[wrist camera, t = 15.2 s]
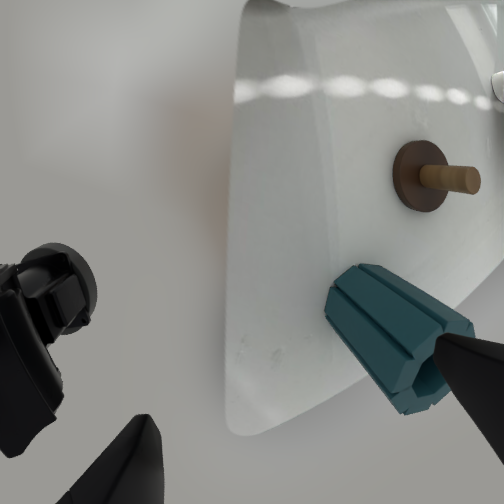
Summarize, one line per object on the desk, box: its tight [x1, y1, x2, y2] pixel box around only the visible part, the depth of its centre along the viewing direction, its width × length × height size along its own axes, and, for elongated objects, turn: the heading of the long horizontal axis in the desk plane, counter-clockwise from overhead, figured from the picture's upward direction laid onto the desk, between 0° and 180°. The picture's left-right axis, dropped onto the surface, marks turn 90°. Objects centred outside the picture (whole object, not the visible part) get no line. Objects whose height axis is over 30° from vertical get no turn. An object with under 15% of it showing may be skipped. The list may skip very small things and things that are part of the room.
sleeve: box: [324, 263, 475, 415], centre depth 17 cm, size 6×6×10 cm
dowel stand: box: [393, 140, 481, 212], centre depth 17 cm, size 6×6×6 cm
